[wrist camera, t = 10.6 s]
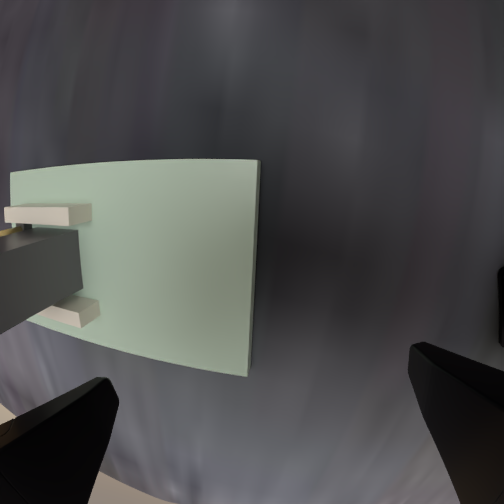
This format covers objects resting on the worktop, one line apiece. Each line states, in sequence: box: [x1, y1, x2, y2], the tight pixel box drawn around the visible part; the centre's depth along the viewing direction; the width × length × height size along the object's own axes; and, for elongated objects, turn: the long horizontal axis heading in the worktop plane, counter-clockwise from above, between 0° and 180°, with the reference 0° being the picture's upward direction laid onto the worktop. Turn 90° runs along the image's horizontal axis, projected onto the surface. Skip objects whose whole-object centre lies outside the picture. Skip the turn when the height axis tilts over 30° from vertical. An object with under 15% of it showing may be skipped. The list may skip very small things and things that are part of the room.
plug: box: [0, 227, 83, 334], centre depth 16 cm, size 5×4×11 cm
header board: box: [0, 159, 261, 377], centre depth 19 cm, size 22×14×5 cm, turn 87°
